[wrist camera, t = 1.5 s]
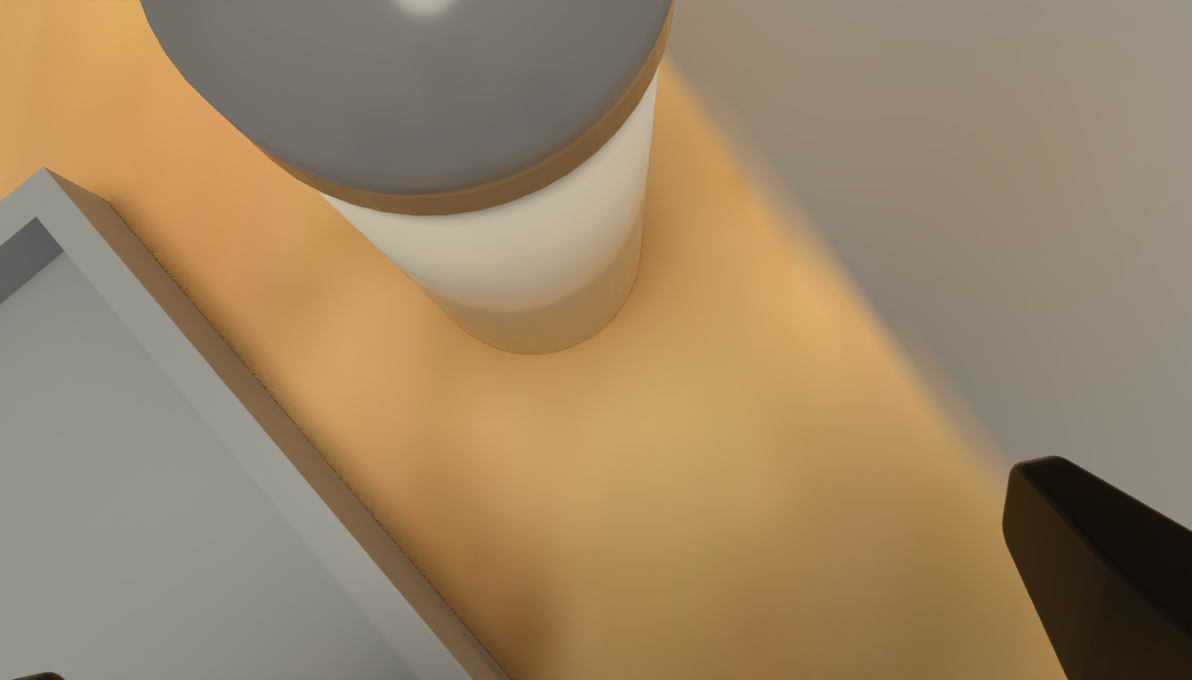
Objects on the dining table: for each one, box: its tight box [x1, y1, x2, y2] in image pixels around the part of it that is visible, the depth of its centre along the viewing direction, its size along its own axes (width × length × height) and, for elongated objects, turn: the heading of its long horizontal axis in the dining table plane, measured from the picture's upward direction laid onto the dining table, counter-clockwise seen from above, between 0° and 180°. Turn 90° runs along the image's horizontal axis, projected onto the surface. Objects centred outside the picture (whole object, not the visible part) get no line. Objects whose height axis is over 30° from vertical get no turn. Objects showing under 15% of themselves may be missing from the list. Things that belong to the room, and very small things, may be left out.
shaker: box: [140, 0, 675, 354], centre depth 15 cm, size 5×5×14 cm
